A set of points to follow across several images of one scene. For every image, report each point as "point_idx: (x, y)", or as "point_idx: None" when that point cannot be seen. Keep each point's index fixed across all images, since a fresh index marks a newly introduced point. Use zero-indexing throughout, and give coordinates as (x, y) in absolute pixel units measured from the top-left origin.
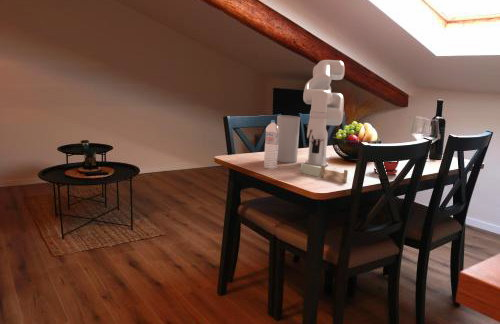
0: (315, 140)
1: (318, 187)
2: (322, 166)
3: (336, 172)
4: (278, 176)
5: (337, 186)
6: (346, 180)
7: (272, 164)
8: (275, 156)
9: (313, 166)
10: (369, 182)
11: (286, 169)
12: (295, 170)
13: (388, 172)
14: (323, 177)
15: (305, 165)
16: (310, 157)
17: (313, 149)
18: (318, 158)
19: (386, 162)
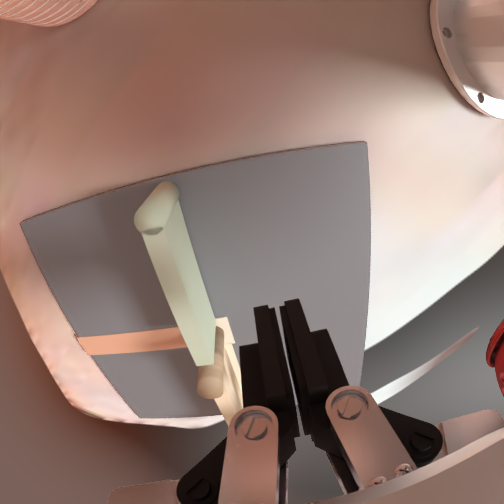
0: (349, 464)
1: (109, 388)
2: (198, 389)
3: (227, 421)
4: (10, 185)
5: None
6: None
7: (28, 21)
8: (3, 10)
9: (178, 326)
10: None
11: (163, 19)
12: (208, 69)
13: (488, 364)
14: None
15: (153, 257)
16: (479, 15)
17: (243, 370)
18: (501, 80)
19: (501, 389)
